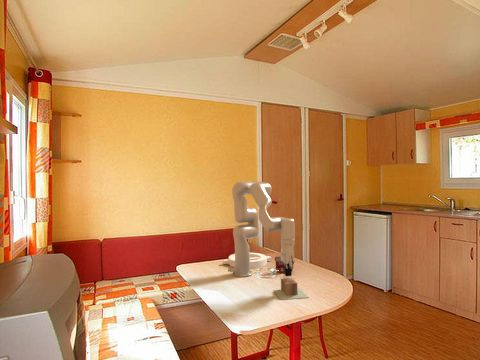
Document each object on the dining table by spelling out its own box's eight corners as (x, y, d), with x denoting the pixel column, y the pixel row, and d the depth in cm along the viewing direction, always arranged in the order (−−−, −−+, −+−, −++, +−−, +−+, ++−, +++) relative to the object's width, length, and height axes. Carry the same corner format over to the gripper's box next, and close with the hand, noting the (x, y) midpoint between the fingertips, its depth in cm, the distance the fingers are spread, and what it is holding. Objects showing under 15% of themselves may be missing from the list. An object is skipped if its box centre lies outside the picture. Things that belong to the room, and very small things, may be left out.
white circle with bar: (273, 261, 223) (272, 255, 223) (255, 271, 198) (255, 264, 198) (240, 257, 237) (240, 251, 237) (221, 265, 213) (221, 258, 213)
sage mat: (280, 299, 148) (280, 299, 148) (273, 290, 161) (273, 290, 161) (308, 297, 150) (308, 297, 150) (299, 288, 163) (299, 288, 163)
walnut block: (280, 288, 163) (286, 295, 153) (280, 277, 163) (286, 283, 153) (291, 288, 164) (297, 294, 154) (291, 277, 164) (297, 283, 154)
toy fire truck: (295, 272, 193) (295, 256, 193) (277, 274, 190) (276, 257, 191) (291, 269, 200) (291, 254, 200) (273, 271, 197) (273, 255, 197)
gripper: (277, 239, 166) (277, 272, 166) (285, 244, 151) (285, 280, 151) (290, 238, 167) (290, 271, 167) (299, 244, 153) (299, 279, 152)
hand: (288, 275), depth 159 cm, fingers closed
